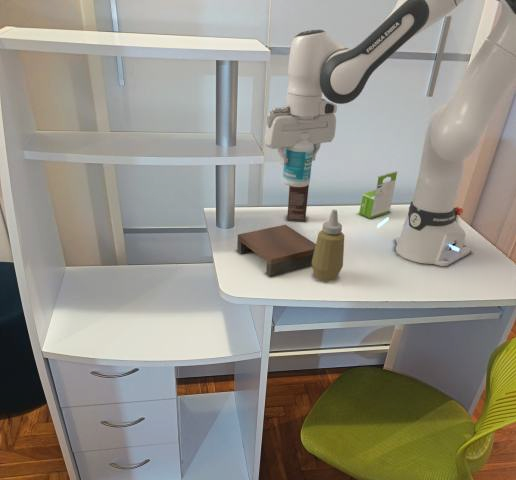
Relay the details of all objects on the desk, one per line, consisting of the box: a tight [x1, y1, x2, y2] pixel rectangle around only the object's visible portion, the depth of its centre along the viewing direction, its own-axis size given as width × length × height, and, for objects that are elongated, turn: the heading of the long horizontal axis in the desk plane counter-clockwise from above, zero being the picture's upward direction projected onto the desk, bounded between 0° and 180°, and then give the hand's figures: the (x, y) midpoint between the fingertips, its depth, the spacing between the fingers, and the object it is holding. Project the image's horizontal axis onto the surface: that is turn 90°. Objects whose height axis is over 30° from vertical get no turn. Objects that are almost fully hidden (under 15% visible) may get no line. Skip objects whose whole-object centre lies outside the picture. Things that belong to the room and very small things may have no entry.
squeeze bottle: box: [311, 209, 345, 282], centre depth 127 cm, size 8×8×18 cm
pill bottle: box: [282, 133, 314, 187], centre depth 134 cm, size 8×7×14 cm
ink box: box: [358, 170, 398, 220], centre depth 166 cm, size 10×5×14 cm, turn 130°
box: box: [286, 183, 310, 222], centre depth 160 cm, size 6×4×12 cm
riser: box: [236, 224, 316, 278], centre depth 139 cm, size 16×17×5 cm
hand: (297, 162), depth 135 cm, fingers closed on pill bottle, 7 cm apart
